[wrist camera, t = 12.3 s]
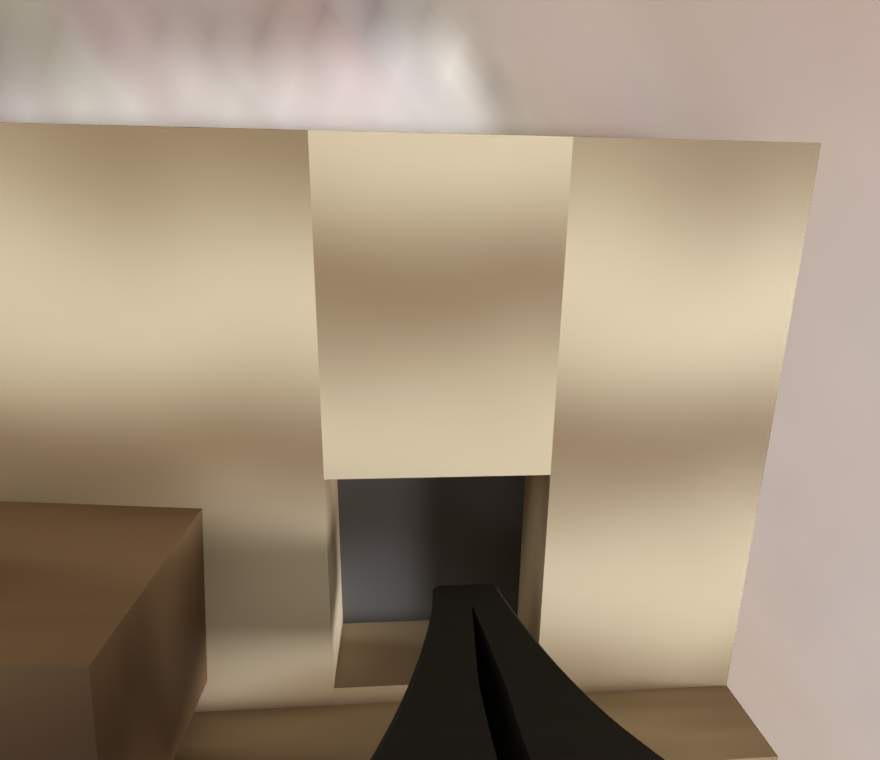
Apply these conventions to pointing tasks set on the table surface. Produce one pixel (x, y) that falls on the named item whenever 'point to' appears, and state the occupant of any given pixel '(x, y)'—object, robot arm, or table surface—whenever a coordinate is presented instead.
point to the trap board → (412, 398)
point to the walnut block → (99, 630)
